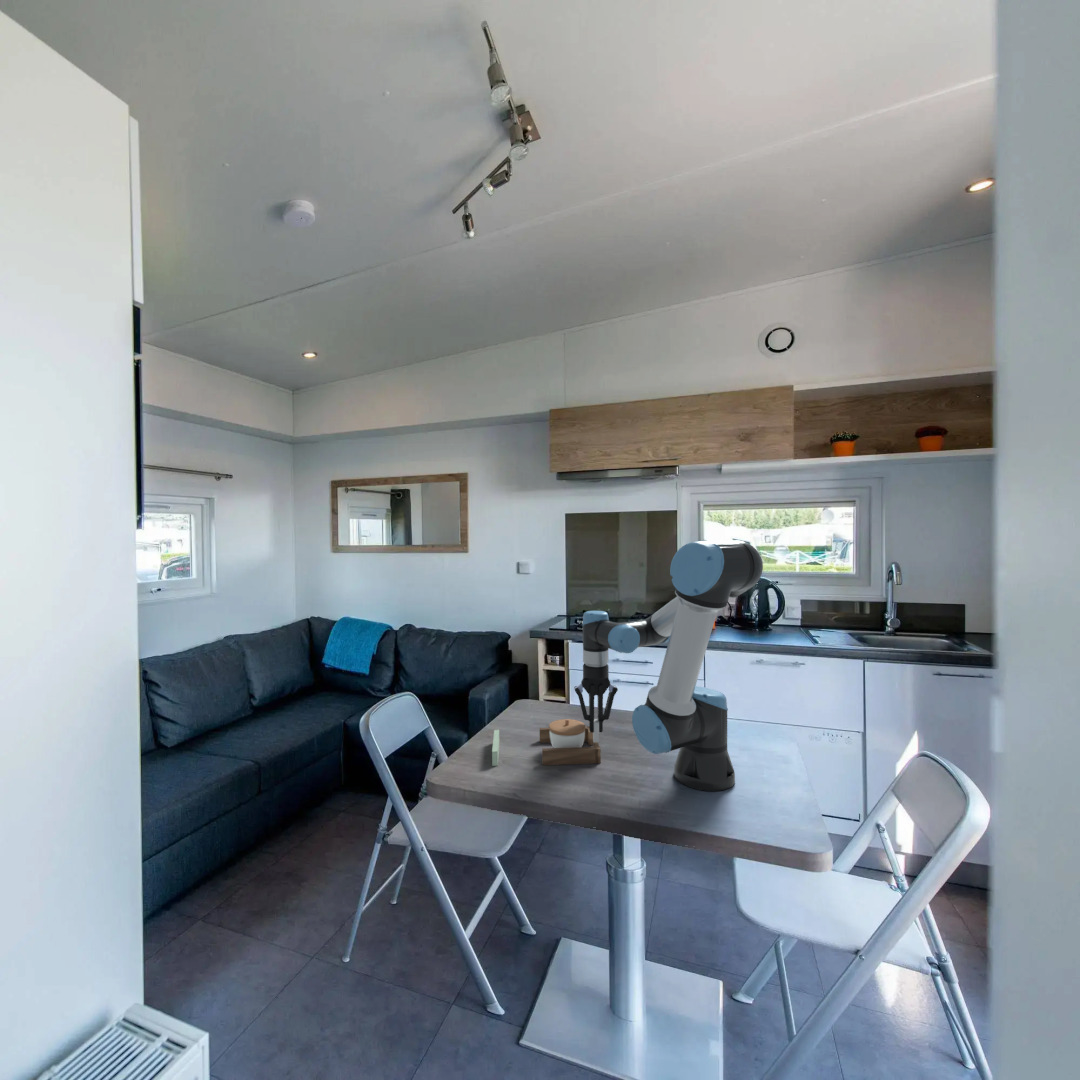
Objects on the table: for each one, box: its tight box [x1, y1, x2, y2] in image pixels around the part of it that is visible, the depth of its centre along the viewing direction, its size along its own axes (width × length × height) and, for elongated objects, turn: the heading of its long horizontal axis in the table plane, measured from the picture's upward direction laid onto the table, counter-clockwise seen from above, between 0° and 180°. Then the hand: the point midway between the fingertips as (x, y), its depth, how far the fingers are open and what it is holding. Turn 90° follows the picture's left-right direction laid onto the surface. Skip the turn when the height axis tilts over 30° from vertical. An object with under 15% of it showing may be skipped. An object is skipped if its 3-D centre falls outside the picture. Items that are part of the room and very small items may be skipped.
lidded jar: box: [548, 718, 586, 748], centre depth 153 cm, size 11×11×9 cm
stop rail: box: [491, 729, 500, 767], centre depth 152 cm, size 16×2×4 cm, turn 3°
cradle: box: [539, 725, 602, 766], centre depth 153 cm, size 17×16×4 cm
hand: (596, 742), depth 154 cm, fingers closed
